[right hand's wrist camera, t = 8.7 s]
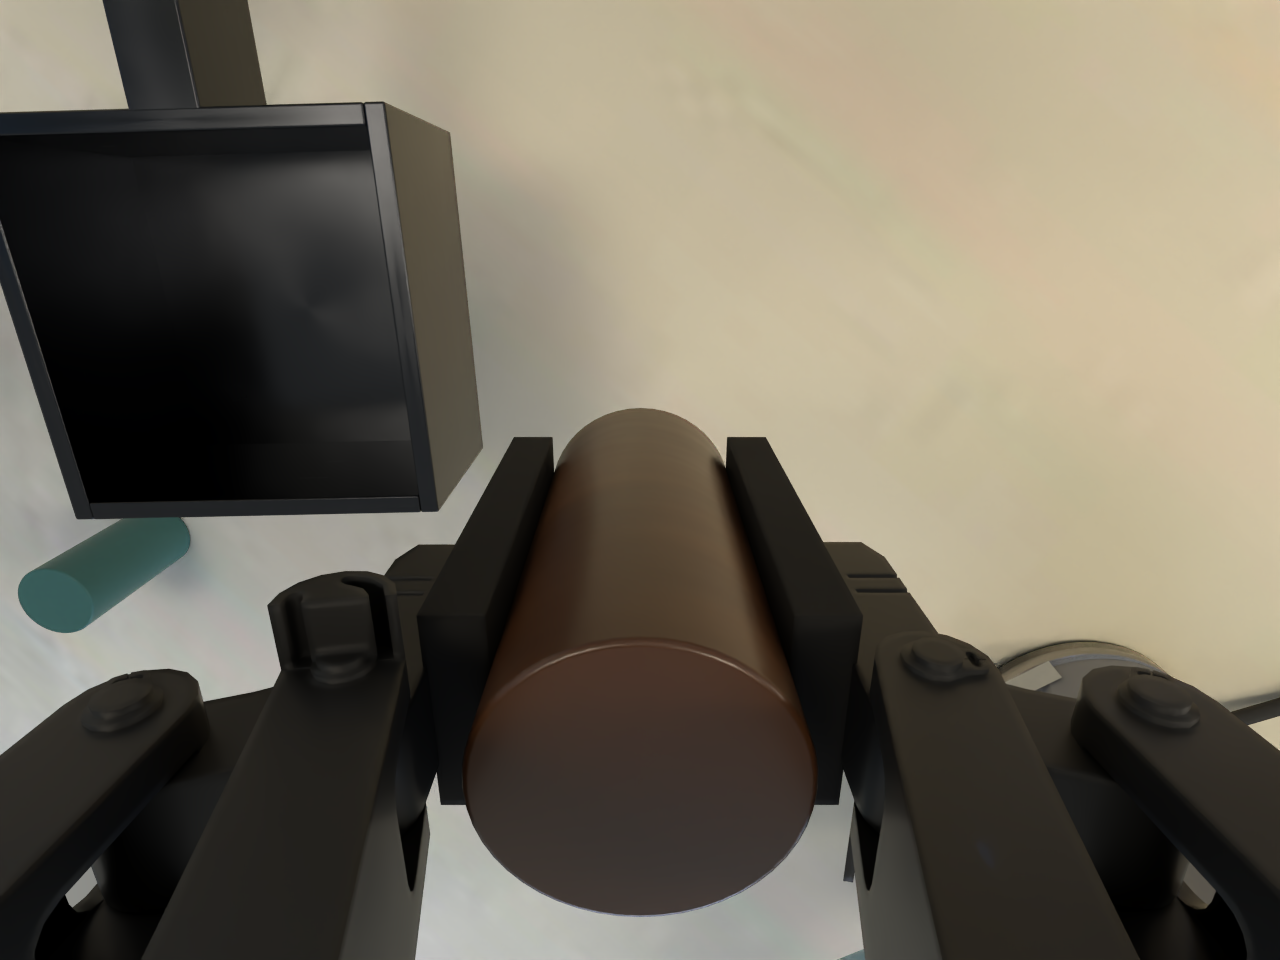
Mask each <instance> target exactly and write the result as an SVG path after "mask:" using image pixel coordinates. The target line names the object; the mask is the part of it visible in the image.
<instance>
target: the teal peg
mask: <svg viewBox="0 0 1280 960" xmlns="http://www.w3.org/2000/svg"><path fill="white" fill-rule="evenodd" d="M189 545H190V535H189V532H188V529H187V527H186V525H185V524H184V522H183V521H182V520H181V519H180V518H179V517H168V518H123V519H121V520H120V521H118V522H116V523H114V524H113V525H111V526H109V527H108V528H106V529H104V530H102V531H101V532H99V533H97V534H95V535H94V536H92V537H90V538H88V539H87V540H85V541H83V542H81V543H80V544H78V545H76V546H74V547H73V548H71V549H69V550H67V551H66V552H64V553H62V554H60V555H59V556H57V557H55V558H53V559H52V560H50V561H48V562H46V563H45V564H43V565H41V566H40V567H38V568H36V569H34V570H33V571H31V572H29V573H28V574H26V575H25V576H24V577H23V579H22V580H21V582H20V584H19V588H18V597H19V601H20V604H21V606H22V608H23V609H24V611H25V612H26V614H27V615H28V616H29V617H30V618H31V619H32V620H33V621H35V622H36V623H37V624H39V625H40V626H42V627H44V628H46V629H49V630H51V631H55V632H61V633H71V632H76V631H79V630H82V629H83V628H85V627H86V626H88V625H89V624H90V623H92V622H93V621H95V620H96V619H97V618H99V617H100V616H101V615H103V614H104V613H106V612H107V611H108V610H110V609H111V608H112V607H114V606H115V605H117V604H118V603H119V602H121V601H122V600H123V599H125V598H126V597H128V596H129V595H130V594H132V593H133V592H134V591H136V590H137V589H138V588H140V587H141V586H143V585H144V584H145V583H147V582H148V581H149V580H151V579H152V578H154V577H155V576H156V575H158V574H159V573H160V572H162V571H163V570H165V569H166V568H167V567H169V566H170V565H171V564H173V563H174V562H176V561H177V560H178V559H180V558H181V557H182V556H183V555H184V554H185V553H186V552H187V550H188V548H189Z"/></svg>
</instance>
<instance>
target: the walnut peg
mask: <svg viewBox="0 0 1280 960" xmlns="http://www.w3.org/2000/svg"><path fill="white" fill-rule="evenodd" d="M462 788H463V793H464V798H465V803H466V808H467V811H468V813H469V816H470V819H471V821H472V824H473V826H474V828H475V830H476V832H477V834H478V835H479V837H480V839H481V841H482V842H483V844H484V845H485V846H486V847H487V849H488V850H489V851H490V853H491V854H492V855H493V857H494V858H495V859H496V860H497V861H498V862H499V863H500V864H501V865H502V866H503V867H504V868H505V869H506V870H507V871H509V872H510V873H511V874H513V875H514V876H515V877H516V878H518V879H519V880H520V881H522V882H523V883H525V884H526V885H528V886H530V887H531V888H533V889H535V890H536V891H538V892H539V893H542V894H544V895H546V896H548V897H550V898H552V899H554V900H557V901H559V902H562V903H565V904H568V905H570V906H573V907H576V908H580V909H584V910H588V911H592V912H596V913H602V914H609V915H616V916H632V917H648V916H664V915H671V914H678V913H684V912H688V911H693V910H697V909H701V908H704V907H707V906H710V905H713V904H716V903H719V902H722V901H724V900H726V899H728V898H730V897H732V896H735V895H737V894H739V893H741V892H743V891H744V890H746V889H748V888H749V887H751V886H753V885H754V884H756V883H757V882H759V881H760V880H761V879H763V878H764V877H765V876H767V875H768V874H769V873H770V872H772V871H773V870H774V869H775V868H776V867H777V866H778V865H779V864H780V863H781V862H782V861H783V860H784V859H785V858H786V857H787V856H788V854H789V853H790V852H791V850H792V849H793V848H794V847H795V845H796V844H797V843H798V841H799V839H800V837H801V836H802V834H803V832H804V830H805V829H806V827H807V824H808V822H809V819H810V816H811V814H812V811H813V808H814V804H815V799H816V794H817V789H818V763H817V756H816V750H815V747H814V744H813V741H812V737H811V734H810V731H809V728H808V725H807V722H806V719H805V715H804V712H803V709H802V706H801V703H800V700H799V697H798V693H797V690H796V687H795V684H794V681H793V678H792V675H791V672H790V668H789V665H788V662H787V659H786V656H785V653H784V650H783V647H782V643H781V640H780V637H779V634H778V631H777V628H776V625H775V622H774V618H773V615H772V612H771V609H770V606H769V603H768V600H767V597H766V593H765V590H764V587H763V584H762V581H761V578H760V575H759V572H758V568H757V565H756V562H755V559H754V556H753V553H752V550H751V547H750V543H749V540H748V537H747V534H746V531H745V528H744V525H743V522H742V518H741V515H740V512H739V509H738V506H737V503H736V500H735V496H734V493H733V490H732V487H731V484H730V481H729V478H728V475H727V471H726V468H725V465H724V462H723V460H722V458H721V456H720V454H719V452H718V450H717V449H716V447H715V446H714V444H713V443H712V441H711V440H710V439H709V438H708V437H707V436H706V435H705V434H704V433H703V432H702V431H701V430H700V429H699V428H697V427H696V426H695V425H693V424H692V423H690V422H689V421H687V420H685V419H683V418H681V417H679V416H677V415H674V414H671V413H668V412H665V411H661V410H656V409H646V408H635V409H626V410H620V411H616V412H613V413H610V414H607V415H604V416H602V417H600V418H598V419H596V420H594V421H593V422H591V423H590V424H588V425H586V426H585V427H584V428H583V429H581V430H580V431H579V432H578V433H577V434H576V435H575V436H574V437H573V438H572V439H571V441H570V442H569V443H568V444H567V446H566V447H565V449H564V450H563V452H562V454H561V456H560V458H559V460H558V463H557V466H556V469H555V472H554V475H553V478H552V481H551V484H550V487H549V491H548V494H547V497H546V500H545V503H544V506H543V509H542V512H541V515H540V518H539V521H538V524H537V527H536V531H535V534H534V537H533V540H532V543H531V546H530V549H529V552H528V555H527V558H526V561H525V564H524V567H523V571H522V574H521V577H520V580H519V583H518V586H517V589H516V592H515V595H514V598H513V601H512V604H511V608H510V611H509V614H508V617H507V620H506V623H505V626H504V629H503V632H502V635H501V638H500V641H499V644H498V648H497V651H496V654H495V657H494V660H493V663H492V666H491V669H490V672H489V675H488V678H487V681H486V684H485V688H484V691H483V694H482V697H481V700H480V703H479V706H478V709H477V712H476V715H475V718H474V721H473V725H472V728H471V731H470V734H469V737H468V740H467V743H466V746H465V750H464V756H463V763H462Z"/></svg>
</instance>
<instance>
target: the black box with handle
mask: <svg viewBox="0 0 1280 960" xmlns="http://www.w3.org/2000/svg"><path fill="white" fill-rule="evenodd" d="M103 4H104V8H105V12H106V17H107V21H108V25H109V29H110V33H111V37H112V41H113V45H114V50H115V54H116V58H117V62H118V66H119V70H120V74H121V78H122V82H123V87H124V91H125V95H126V99H127V103H128V107H129V109H103V110H68V111H33V112H0V283H1V286H2V290H3V293H4V296H5V299H6V302H7V305H8V308H9V311H10V314H11V317H12V321H13V324H14V327H15V330H16V333H17V336H18V339H19V342H20V345H21V348H22V352H23V355H24V358H25V361H26V364H27V367H28V370H29V373H30V376H31V379H32V383H33V386H34V389H35V392H36V395H37V398H38V401H39V404H40V407H41V410H42V414H43V417H44V420H45V423H46V426H47V429H48V432H49V435H50V438H51V442H52V445H53V448H54V451H55V454H56V457H57V460H58V463H59V466H60V469H61V473H62V476H63V479H64V482H65V485H66V488H67V491H68V494H69V497H70V500H71V504H72V507H73V510H74V513H75V516H76V518H77V519H122V518H168V517H214V516H260V515H306V514H353V513H399V512H421V511H422V512H437V511H439V510H440V508H441V507H442V505H443V504H444V502H445V501H446V500H447V498H448V497H449V495H450V494H451V493H452V491H453V490H454V488H455V487H456V485H457V484H458V483H459V481H460V480H461V478H462V477H463V475H464V474H465V473H466V471H467V470H468V468H469V467H470V466H471V464H472V463H473V461H474V460H475V458H476V457H477V456H478V454H479V453H480V451H481V450H482V449H483V442H482V433H481V423H480V414H479V404H478V395H477V385H476V376H475V366H474V357H473V347H472V338H471V328H470V319H469V309H468V300H467V290H466V281H465V271H464V262H463V252H462V243H461V233H460V224H459V214H458V205H457V195H456V186H455V176H454V167H453V157H452V148H451V138H450V133H449V132H448V131H446V130H443V129H441V128H439V127H437V126H435V125H433V124H430V123H428V122H426V121H424V120H422V119H420V118H417V117H415V116H413V115H411V114H409V113H407V112H405V111H402V110H400V109H398V108H396V107H394V106H392V105H389V104H387V103H385V102H365V103H362V102H350V103H314V104H279V105H266V99H265V94H264V89H263V83H262V78H261V72H260V67H259V61H258V56H257V50H256V45H255V39H254V34H253V28H252V23H251V18H250V12H249V7H248V1H247V0H103Z"/></svg>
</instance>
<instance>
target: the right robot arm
mask: <svg viewBox="0 0 1280 960" xmlns="http://www.w3.org/2000/svg"><path fill="white" fill-rule="evenodd" d="M726 471H727V475H728V478H729V481H730V484H731V487H732V490H733V493H734V496H735V500H736V503H737V506H738V509H739V512H740V515H741V518H742V522H743V525H744V528H745V531H746V534H747V537H748V540H749V543H750V547H751V550H752V553H753V556H754V559H755V562H756V565H757V568H758V572H759V575H760V578H761V581H762V584H763V587H764V590H765V593H766V597H767V600H768V603H769V606H770V609H771V612H772V615H773V618H774V622H775V625H776V628H777V631H778V634H779V637H780V640H781V643H782V647H783V650H784V653H785V656H786V659H787V662H788V665H789V668H790V672H791V675H792V678H793V681H794V684H795V687H796V690H797V693H798V697H799V700H800V703H801V706H802V709H803V712H804V715H805V719H806V722H807V725H808V728H809V731H810V734H811V737H812V741H813V744H814V747H815V750H816V756H817V763H818V789H817V794H816V799H815V804H814V805H839V798H840V791H841V783H842V775H843V770H844V772H845V775H846V778H847V781H848V784H849V786H850V789H851V792H852V795H853V797H854V800H855V801H854V808H853V815H852V822H851V829H850V836H849V843H848V851H847V858H846V865H845V872H844V879H843V881H847V882H853V879H854V873H855V879H856V887H857V895H858V904H859V912H860V920H861V929H862V937H863V945H864V949H863V950H861V951H858V952H855V953H853V954H850V955H848V956H845V957H843V958H840V959H838V960H1280V751H1279V750H1278V749H1277V748H1275V747H1274V746H1273V745H1272V744H1270V743H1269V742H1268V741H1267V740H1265V739H1264V738H1263V737H1261V736H1260V735H1259V734H1258V733H1256V732H1255V731H1254V730H1253V729H1251V728H1250V727H1249V726H1247V725H1250V724H1253V723H1257V722H1260V721H1264V720H1267V719H1271V718H1274V717H1277V716H1280V698H1277V699H1274V700H1270V701H1267V702H1264V703H1260V704H1257V705H1253V706H1250V707H1246V708H1243V709H1240V710H1236V711H1233V712H1230V711H1228V710H1227V709H1226V708H1225V707H1223V706H1222V705H1221V704H1220V703H1218V702H1217V701H1215V700H1214V699H1212V698H1211V697H1209V696H1208V695H1206V694H1204V693H1203V692H1201V691H1200V690H1198V689H1196V688H1195V687H1193V686H1191V685H1189V684H1186V683H1184V682H1182V681H1179V680H1177V679H1175V678H1173V677H1171V676H1170V675H1168V674H1167V673H1166V672H1165V671H1164V670H1162V669H1161V668H1160V667H1159V666H1158V665H1157V664H1155V663H1154V662H1153V661H1151V660H1150V659H1149V658H1147V657H1145V656H1143V655H1142V654H1140V653H1138V652H1135V651H1133V650H1131V649H1128V648H1125V647H1121V646H1118V645H1113V644H1108V643H1100V642H1072V643H1064V644H1058V645H1053V646H1049V647H1045V648H1042V649H1039V650H1035V651H1033V652H1030V653H1027V654H1025V655H1022V656H1020V657H1018V658H1016V659H1014V660H1012V661H1010V662H1009V663H1007V664H1005V665H1003V666H1002V667H1000V668H999V669H998V668H997V667H996V666H995V664H994V663H993V662H992V661H991V660H990V658H989V657H988V656H987V655H985V654H984V653H982V652H981V651H979V650H978V649H976V648H975V647H973V646H972V645H970V644H968V643H965V642H963V641H960V640H958V639H955V638H953V637H950V636H947V635H942V634H938V633H937V631H936V630H935V628H934V627H933V625H932V624H931V623H930V621H929V620H928V618H927V617H926V615H925V614H924V613H923V611H922V610H921V608H920V607H919V606H918V604H917V603H916V601H915V600H914V598H913V597H912V596H911V594H910V593H907V588H906V587H905V586H904V584H903V583H902V581H901V580H900V578H897V574H896V573H895V571H894V570H893V568H892V567H891V566H890V564H889V563H888V561H887V560H886V558H885V557H884V556H882V555H881V554H879V553H877V552H876V551H874V550H873V549H871V548H870V547H868V546H866V545H865V544H863V543H862V542H823V541H822V539H821V537H820V536H819V534H818V532H817V530H816V528H815V526H814V525H813V523H812V521H811V519H810V517H809V516H808V514H807V512H806V510H805V508H804V506H803V505H802V503H801V501H800V499H799V497H798V495H797V494H796V492H795V490H794V488H793V486H792V484H791V483H790V481H789V479H788V477H787V475H786V474H785V472H784V470H783V468H782V466H781V464H780V463H779V461H778V459H777V457H776V455H775V453H774V452H773V450H772V448H771V446H770V444H769V442H768V441H767V439H766V437H727V454H726ZM553 475H554V460H553V439H552V437H514V438H513V440H512V442H511V444H510V446H509V447H508V449H507V451H506V453H505V455H504V456H503V458H502V460H501V462H500V464H499V466H498V467H497V469H496V471H495V473H494V475H493V477H492V478H491V480H490V482H489V484H488V486H487V487H486V489H485V491H484V493H483V495H482V497H481V498H480V500H479V502H478V504H477V506H476V508H475V509H474V511H473V513H472V515H471V517H470V518H469V520H468V522H467V524H466V526H465V528H464V529H463V531H462V533H461V535H460V537H459V539H458V540H457V542H456V544H455V545H417V546H416V547H414V548H413V549H411V550H409V551H408V552H406V553H405V554H403V555H402V556H400V557H399V558H397V559H395V561H394V562H393V564H392V565H391V567H390V568H389V569H388V571H387V572H386V574H385V575H380V574H376V573H372V572H368V571H343V572H337V573H331V574H325V575H320V576H317V577H314V578H311V579H308V580H305V581H302V582H299V583H297V584H295V585H293V586H292V587H290V588H288V589H286V590H284V591H283V592H281V593H279V594H278V595H277V596H276V597H275V598H274V599H273V600H272V601H271V602H270V603H269V604H268V605H267V606H268V611H269V616H270V620H271V625H272V629H273V634H274V639H275V643H276V648H277V653H278V657H279V662H280V667H281V672H280V674H279V676H278V679H277V681H276V683H275V685H274V687H271V688H267V689H264V690H260V691H256V692H251V693H246V694H241V695H236V696H231V697H226V698H221V699H215V700H210V701H205V702H203V699H202V695H201V691H200V687H199V684H198V681H197V680H196V679H195V678H194V677H192V676H191V675H190V674H189V673H188V672H183V671H178V670H173V669H159V670H143V671H137V672H132V673H131V674H129V675H128V674H124V675H121V676H117V677H114V678H112V679H110V680H109V681H107V682H105V683H102V684H100V685H98V686H95V687H93V688H91V689H88V690H86V691H85V692H83V693H82V694H80V695H79V696H77V697H75V698H74V699H72V700H71V701H69V702H68V703H66V704H65V705H63V706H62V707H61V708H59V709H58V710H57V711H56V712H54V713H53V714H52V715H51V716H49V717H48V718H47V719H45V720H44V721H43V722H42V723H40V724H39V725H38V726H37V727H35V728H34V729H33V730H32V731H30V732H29V733H28V734H27V735H25V736H24V737H23V738H22V739H20V740H19V741H18V742H17V743H15V744H14V745H13V746H11V747H10V748H9V749H8V750H6V751H5V752H4V753H3V754H1V755H0V960H415V955H416V947H417V938H418V930H419V922H420V914H421V905H422V897H423V889H424V881H425V872H426V864H427V856H428V847H429V839H430V829H429V822H428V815H427V808H426V800H427V797H428V794H429V792H430V789H431V786H432V783H433V780H434V778H435V775H436V772H437V778H438V786H439V794H440V801H441V805H466V803H465V798H464V793H463V788H462V763H463V756H464V750H465V746H466V743H467V740H468V737H469V734H470V731H471V728H472V725H473V721H474V718H475V715H476V712H477V709H478V706H479V703H480V700H481V697H482V694H483V691H484V688H485V684H486V681H487V678H488V675H489V672H490V669H491V666H492V663H493V660H494V657H495V654H496V651H497V648H498V644H499V641H500V638H501V635H502V632H503V629H504V626H505V623H506V620H507V617H508V614H509V611H510V608H511V604H512V601H513V598H514V595H515V592H516V589H517V586H518V583H519V580H520V577H521V574H522V571H523V567H524V564H525V561H526V558H527V555H528V552H529V549H530V546H531V543H532V540H533V537H534V534H535V531H536V527H537V524H538V521H539V518H540V515H541V512H542V509H543V506H544V503H545V500H546V497H547V494H548V491H549V487H550V484H551V481H552V478H553ZM90 867H92V870H93V872H94V875H95V878H96V880H97V884H96V886H95V887H94V888H93V889H92V890H91V891H90V893H89V894H88V895H87V896H86V897H85V898H84V899H82V900H81V901H80V902H79V903H78V904H76V905H75V906H74V907H73V908H72V907H71V906H70V905H69V903H68V901H67V898H66V896H65V894H66V893H67V892H68V891H69V890H70V889H71V888H72V886H73V885H74V884H75V883H76V882H77V881H78V880H79V879H80V878H81V877H82V875H83V874H84V873H85V872H86V871H87V870H88V869H89V868H90Z"/></svg>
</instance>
